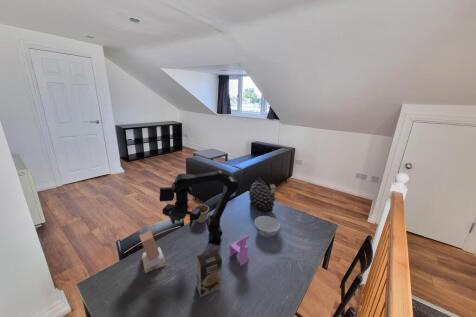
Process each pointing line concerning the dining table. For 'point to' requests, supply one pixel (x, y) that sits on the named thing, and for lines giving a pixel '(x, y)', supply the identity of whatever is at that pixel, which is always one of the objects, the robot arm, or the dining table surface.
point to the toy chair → (240, 249)
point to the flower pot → (202, 212)
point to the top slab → (154, 261)
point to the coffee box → (209, 272)
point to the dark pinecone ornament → (262, 196)
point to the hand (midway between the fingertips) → (182, 225)
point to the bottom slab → (153, 266)
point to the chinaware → (267, 226)
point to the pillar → (149, 245)
